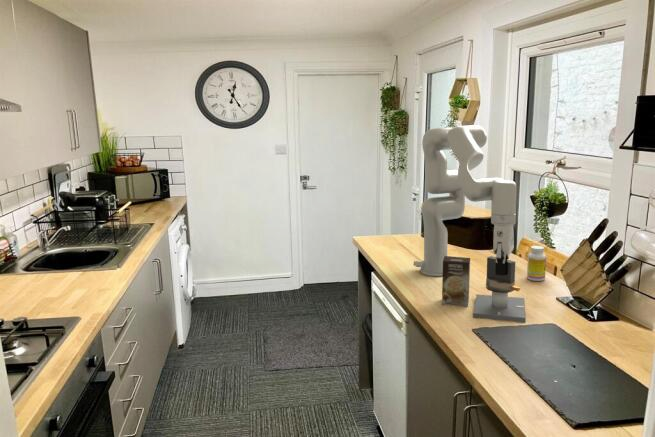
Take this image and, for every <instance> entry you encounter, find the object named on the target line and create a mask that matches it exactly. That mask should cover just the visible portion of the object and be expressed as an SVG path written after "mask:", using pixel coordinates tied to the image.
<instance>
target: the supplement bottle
mask: <svg viewBox="0 0 655 437" xmlns="http://www.w3.org/2000/svg"><path fill="white" fill-rule="evenodd" d="M544 249H545V248H544V246H541V245H531V247H530V251H531V252H529V253H528V255H527V266H526V267H527V268H526V269H527V270H526V272H527V273H526V278H527V279H528V280H530V281H534V282H542V281H544V280H545V279H546V267H547V266H546V265H547V255H546V254H545V253H544V252H545V250H544Z"/></svg>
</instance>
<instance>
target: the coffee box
mask: <svg viewBox="0 0 655 437" xmlns="http://www.w3.org/2000/svg"><path fill="white" fill-rule="evenodd" d="M470 273H471V257H463V256H462V257H461V256H450V255H447V256H445V257H444V259H443V276H442V282H441V284H442V285H441V287H442V288H441V289H442V290H441V292H442V293H441V305H443V306H444V305H445V306H454V307H455V306H456V307H464V308H468V307H469V301H470V281H471V279H470V278H471V275H470Z"/></svg>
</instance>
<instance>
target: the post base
mask: <svg viewBox="0 0 655 437" xmlns="http://www.w3.org/2000/svg"><path fill="white" fill-rule="evenodd" d="M525 301H526V300H525V297H514V296H509V293H497V292H492V291H491V295H489V294H476V295H475V302H474V307H473V310H472V311H473V312H472V318H474V319H484V320H496V321H506V322H507V321H508V322H518V323H526V315H527V314H526V304H525Z"/></svg>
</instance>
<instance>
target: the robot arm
mask: <svg viewBox="0 0 655 437" xmlns="http://www.w3.org/2000/svg"><path fill="white" fill-rule="evenodd" d="M487 140H488V136H487V132H486V130H485V129H484V128H483V127H482V126H481V125H477V124H476V125H474V124H473V125H457V126H454V127H452V126H451V127H437V128H431V129H429V130H427V131H426V132H425V133H424V134H423V136H422V140H421V141H422V142H421V143H422V145H421V146H422V151H423V154H424V160H425V161H424V162H425V166H424V167H425V169H424V170H425V174H424V175H425V180H424V182H425V190H426V192H427V193H429V194H430V195H441V194H449V195H447V196H446V195H445V196H435V197H430V198H427V199H424V201H423V202H422V204H421V215H422V219H423V220H422V221H423V260H421V261H418V260H413V266H415V267H416V268H419V269H420V270H419V272H420V274H422V275H424V276H428V277H443V259H444V257H445V256H448V237H449V236H448V235H449V234H448V228H447V227H446V226H445V224H444V222H443V221H447V220H454V219H459V218H462V217H463V215H464V213H465V208H466V207H465V204H466V199H467V200H469V201H470V202H473V203H474V202H475V203H476V202H484V201H491V204H490V205H491V206H490V207H491V210H490V212H491V215H490V223H491V224H492V225H494V226H493V242H492V243H493V247H492V250H493V254H494V255H495V257H496V272H495V274H496V275H503V276H505V275H506V263H505V259H507V260H510V254H511V253H512V252H513V251H514V248H515V245H514V243H515V240H514V238H515V237H514V225H516V220H517V219H516V217H517V214H516V213H517V211H516V210H517V183H516V182H515V181H513V180H505V179H504V178H502V177H485V178H482V177H481V178H474V177H473V175H472V174H471V171H472V170H474V169H475V168H477V167H478V166H479V165H480V164H481V163H482V161H484V160H483V159H484V153H483V151H482V149H481V148H483V147H484V146H485V145H486V143H487ZM446 150H448V151H449V150H451V151H452V152H453V154H454V156H455V158H456V159H457V161H458V163H459V167H458V169H453V168H452V169H450V168H449V169H448V158H447V156H446V154H445V153H444V151H446Z"/></svg>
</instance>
